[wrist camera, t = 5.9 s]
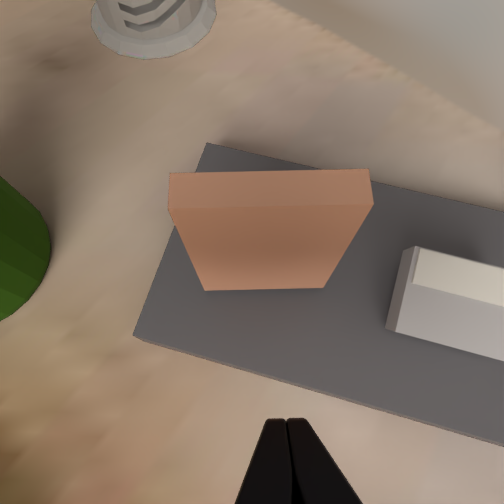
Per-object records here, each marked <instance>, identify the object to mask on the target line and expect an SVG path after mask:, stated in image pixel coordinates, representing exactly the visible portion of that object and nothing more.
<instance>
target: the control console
mask: <svg viewBox="0 0 504 504" xmlns="http://www.w3.org/2000/svg"><path fill="white" fill-rule="evenodd" d="M289 170H322V169H318V168H314V167H309V166H305V165H301V164H297V163H292V162H288V161H284V160H279V159H275V158H271V157H267V156H262V155H258V154H254V153H250V152H245V151H241V150H237V149H232V148H228V147H224V146H220V145H215V144H211V143H206V146H205V148H204V151H203V154H202V156H201V159H200V161H199V164H198V167H197V169H196V172H195V173H201V172H245V171H289ZM370 182H371V188H372V195H373V202H374V205H373V206H372V208H371V210H370V211H369V213H368V215H367V216H366V218H365V220H364V221H363V223H362V225H361V226H360V228H359V230H358V231H357V233H356V234H355V236H354V238H353V239H352V241H351V243H350V244H349V246H348V248H347V249H346V251H345V253H344V254H343V256H342V258H341V259H340V261H339V263H338V264H337V266H336V268H335V269H334V271H333V273H332V274H331V276H330V277H329V279H328V281H327V282H326V284H325V286H324V287H323V288H296V289H253V290H210V291H205V290H204V288H203V286H202V284H201V282H200V279H199V277H198V275H197V273H196V270H195V268H194V266H193V264H192V262H191V259H190V257H189V255H188V253H187V250H186V248H185V246H184V244H183V242H182V239H181V237H180V235H179V233H178V230H177V228H176V226H174V229H173V231H172V234H171V236H170V239H169V242H168V244H167V247H166V249H165V252H164V255H163V257H162V260H161V262H160V265H159V268H158V270H157V273H156V275H155V278H154V281H153V283H152V286H151V288H150V291H149V293H148V296H147V299H146V301H145V304H144V306H143V309H142V312H141V314H140V317H139V319H138V322H137V325H136V327H135V330H134V332H133V336H135V337H137V338H139V339H140V340H142V341H145V342H148V343H152V344H155V345H159V346H162V347H165V348H169V349H172V350H176V351H179V352H182V353H186V354H189V355H193V356H196V357H199V358H203V359H206V360H210V361H213V362H216V363H220V364H223V365H227V366H230V367H234V368H237V369H240V370H244V371H247V372H251V373H254V374H257V375H261V376H264V377H268V378H271V379H274V380H278V381H281V382H285V383H288V384H291V385H295V386H298V387H302V388H305V389H308V390H312V391H315V392H319V393H322V394H326V395H329V396H332V397H336V398H339V399H343V400H346V401H349V402H353V403H356V404H360V405H363V406H366V407H370V408H373V409H377V410H380V411H383V412H387V413H390V414H394V415H397V416H400V417H404V418H407V419H411V420H414V421H418V422H421V423H424V424H428V425H431V426H435V427H438V428H441V429H445V430H448V431H452V432H455V433H458V434H462V435H465V436H469V437H472V438H475V439H479V440H482V441H486V442H489V443H492V444H496V445H499V446H503V447H504V361H501V360H498V359H494V358H490V357H486V356H483V355H479V354H475V353H472V352H468V351H464V350H461V349H457V348H453V347H450V346H446V345H442V344H439V343H435V342H431V341H428V340H424V339H420V338H417V337H413V336H409V335H406V334H402V333H398V332H395V331H391V330H388V329H385V325H386V321H387V317H388V312H389V308H390V304H391V300H392V295H393V291H394V287H395V283H396V278H397V274H398V270H399V266H400V261H401V257H402V253H403V250H406V249H408V248H411V247H414V246H418V247H422V248H426V249H430V250H434V251H438V252H442V253H446V254H450V255H454V256H458V257H462V258H466V259H470V260H474V261H478V262H482V263H486V264H490V265H494V266H498V267H502V268H504V212H502V211H497V210H493V209H489V208H485V207H480V206H476V205H472V204H467V203H463V202H459V201H455V200H450V199H446V198H442V197H438V196H433V195H429V194H425V193H420V192H416V191H412V190H408V189H403V188H399V187H395V186H391V185H386V184H382V183H378V182H373V181H370Z"/></svg>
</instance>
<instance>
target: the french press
mask: <svg viewBox="0 0 504 504" xmlns="http://www.w3.org/2000/svg"><path fill="white" fill-rule="evenodd" d="M215 17H216V7H215V0H96V3H95V4H94V6H93V8H92V16H91V27H92V29H93V31H94V32H95V34H96V36H97V37H98V39H99V41H100V43H102V44H103V45H105V46H106V47H108V48H109V49H111V50H113V51H114V52H116V53H117V54H119V55H124V56H128V57H133V58H138V59H143V60H144V59H153V58H163V57H170V56H173V55H175V54H177V53H180V52H182V51H184V50H187V49H189V48H192V47H193V46H194V45H195V44H197V43H198V42H199V41H200V40H201V39H202V38H203V37H204V36H205V35H206V34H207V33H209V31H210V29H211V26H212V24H213V22H214V19H215Z"/></svg>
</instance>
